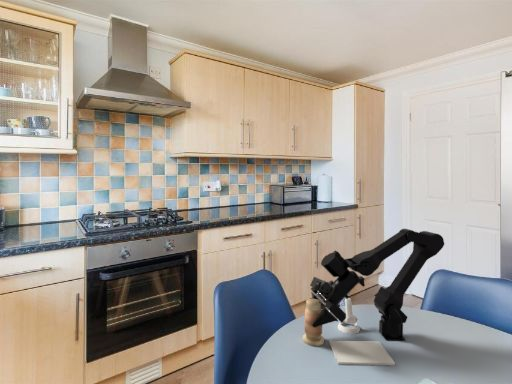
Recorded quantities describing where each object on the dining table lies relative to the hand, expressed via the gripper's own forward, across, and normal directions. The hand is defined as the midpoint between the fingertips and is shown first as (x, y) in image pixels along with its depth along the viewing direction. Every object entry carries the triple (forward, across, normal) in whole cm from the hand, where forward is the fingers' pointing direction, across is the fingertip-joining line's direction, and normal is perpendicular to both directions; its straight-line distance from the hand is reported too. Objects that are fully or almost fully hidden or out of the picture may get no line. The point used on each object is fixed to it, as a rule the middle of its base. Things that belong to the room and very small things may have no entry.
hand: (309, 320), depth 101 cm
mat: (-5, +9, +14) cm, 17 cm away
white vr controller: (-7, -7, +17) cm, 19 cm away
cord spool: (+4, 0, +6) cm, 7 cm away
